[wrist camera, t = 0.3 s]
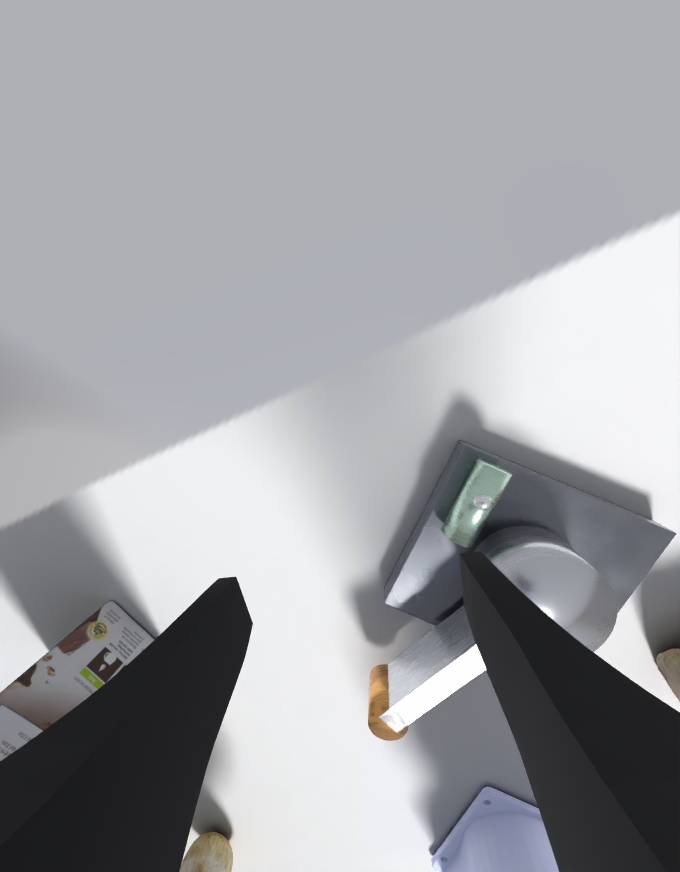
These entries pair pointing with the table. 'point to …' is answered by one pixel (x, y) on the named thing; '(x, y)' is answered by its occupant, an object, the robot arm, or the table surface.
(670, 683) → the decorative bottle
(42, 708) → the coffee box
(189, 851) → the decorative mushroom
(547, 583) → the silver pan
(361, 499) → the table surface
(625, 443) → the table surface
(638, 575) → the plate
